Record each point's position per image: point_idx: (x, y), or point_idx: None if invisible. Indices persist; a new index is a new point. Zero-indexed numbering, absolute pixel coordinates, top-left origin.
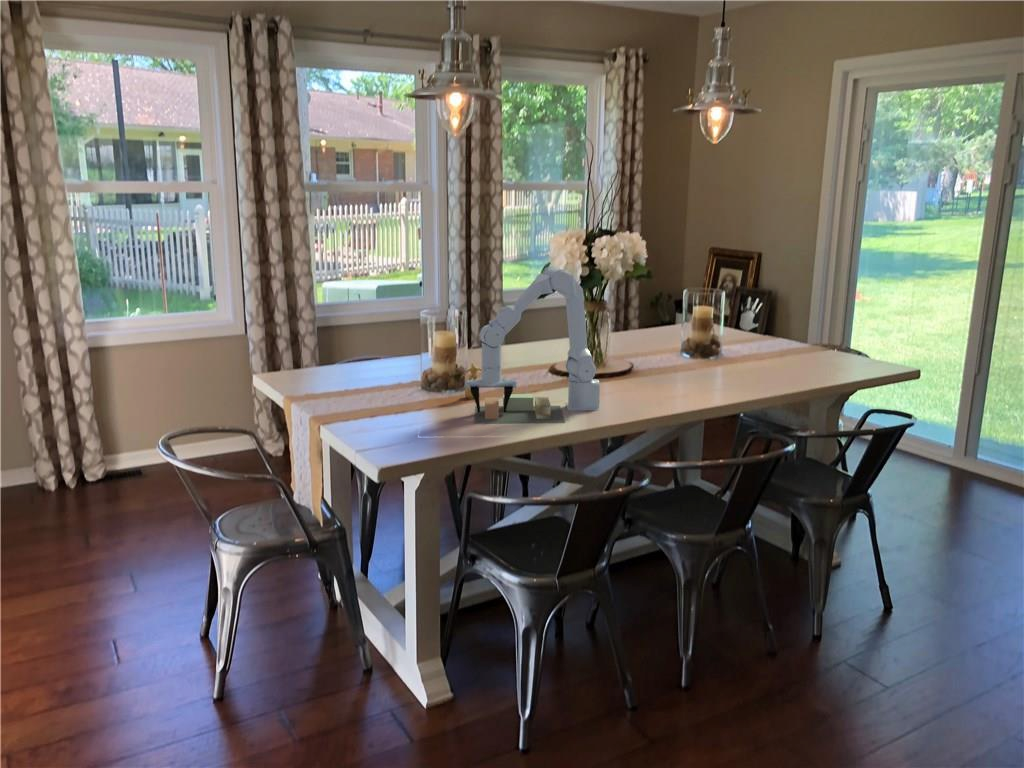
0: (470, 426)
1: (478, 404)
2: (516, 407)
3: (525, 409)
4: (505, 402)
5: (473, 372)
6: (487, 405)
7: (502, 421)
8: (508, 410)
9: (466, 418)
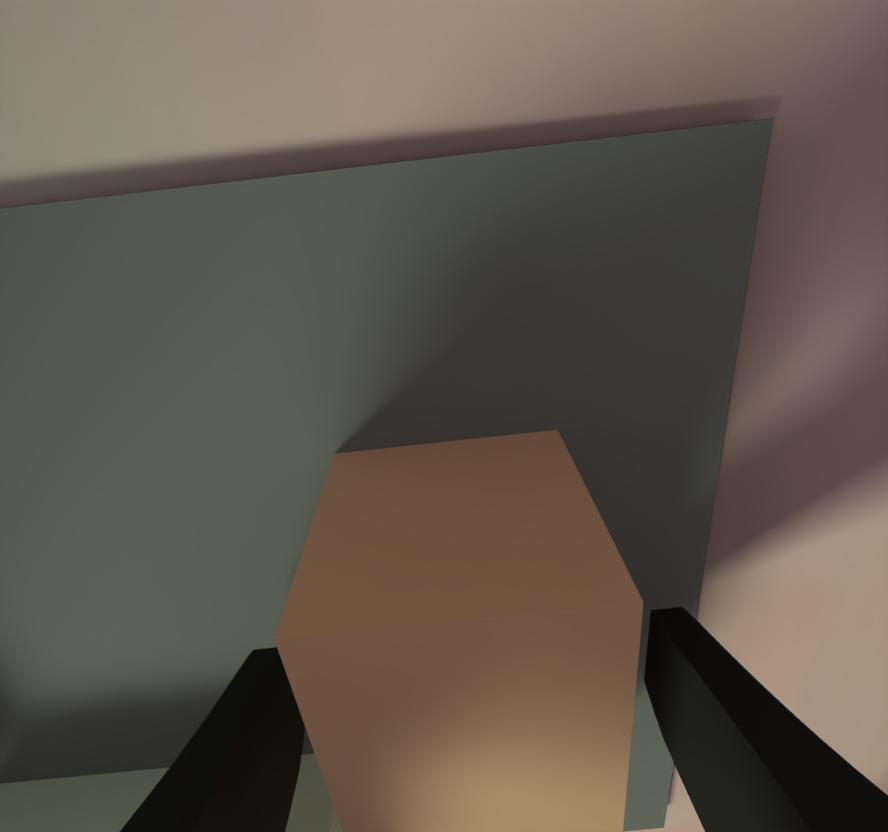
0: (852, 3)
1: (752, 720)
2: None
3: (75, 790)
4: (175, 815)
5: None
6: (574, 624)
7: (237, 318)
8: None
9: (822, 484)
